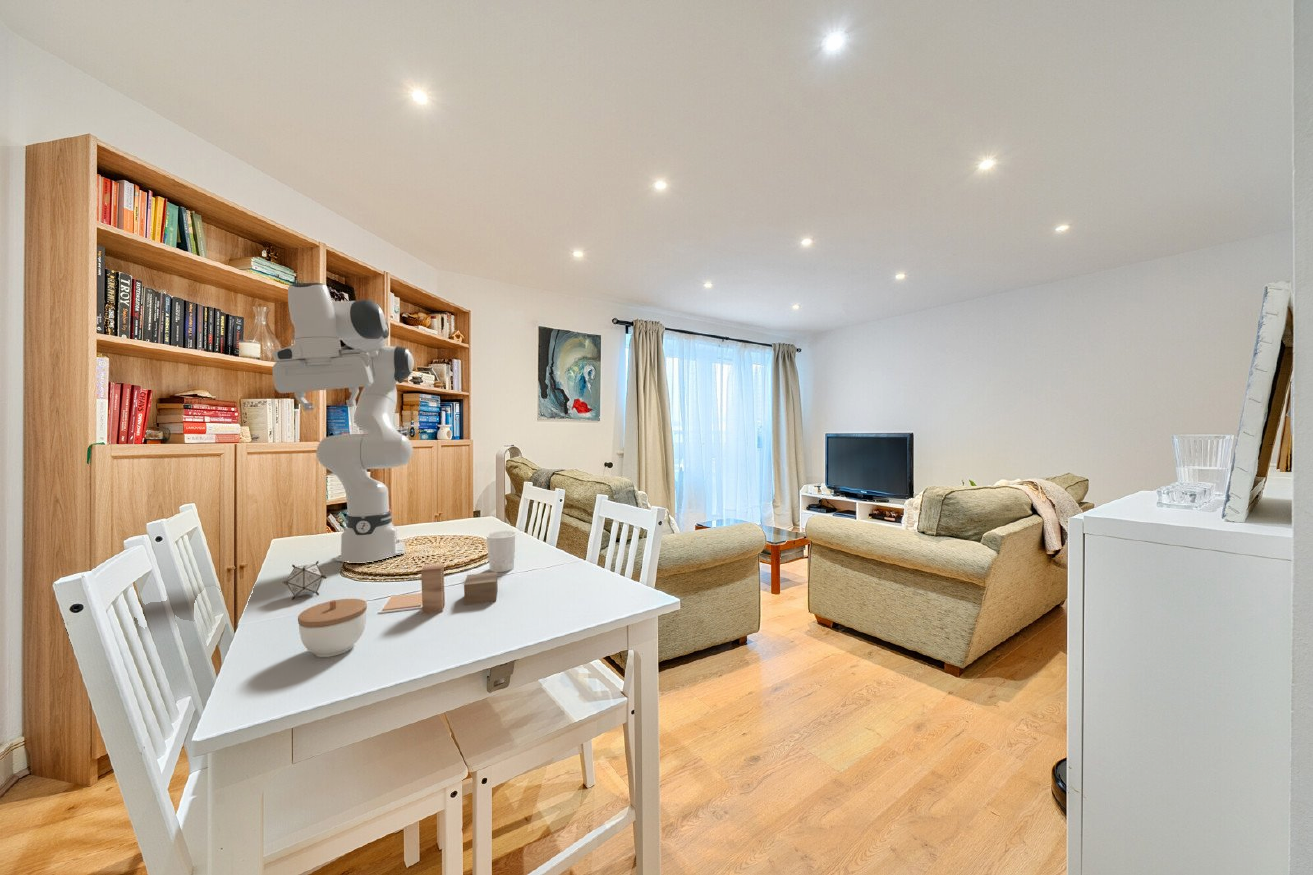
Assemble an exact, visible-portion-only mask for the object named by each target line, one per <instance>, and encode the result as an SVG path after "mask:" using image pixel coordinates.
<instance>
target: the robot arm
mask: <svg viewBox="0 0 1313 875" xmlns="http://www.w3.org/2000/svg"><path fill="white" fill-rule="evenodd" d="M287 288H288V289H287V303H288V305H287V306H288V313H289V318H290V321H291V324H292V326H293V327H294V334H293V335H294V338H293V339H294V343H293V344H291V345H289V346H286V347H283V348H281V349H278V350H275V351H274V352H272V354H271V355H272V359H273V360H274V361H276V362H275V363H274V364H273V366H272V380H273V381H272V382H273V386H274V389H275V390H276V391H277V392H278V393H279V394H288V393H289V394H290V393H294V398H296V400H297V401H298V402H299V403H300V404H301V406H302V410H303V411H304V412H307V411H313V410H314V407H313V406H314V404H313V402H308V401H307V399H306V398H305V397H306V395H307V394H306V392H314V391H325V390H326V391H327V390H328V391H329V390H337V389H338V390H339V389H340V390H342V389H348V391H349V393H351V394H350V397H349V399H346V400H345V402H346V407H347V408H350V407H351V408H353V407H356V408H355V412H354V415H353V419H354V420H353V421H354V424H355V425H356V427H357V428H358V429H360V430H361V431H362V432H364V433H351V434H350V433H346V434H345V433H344V434H337V435H331V436H327V437H324V438H322V439H321V441H319V444H318V446H317V447H316V458H317V460H318V462H319V464H321V466H323V468H325V469H327V470H329V471H330V472H331V473H332V474H334V475H335V476H336V477H337V478H338V480H339V481H340V483H341V485H342V486H343V489H344V492H345V497H346V506H347V515H346V516H345V523H346V524H345V526H346V529H345V530H344V531H343V532H342V533H341V540H340V555H338V556H336V557H335V561H336V562H343V563H344V562H345V561H349V562H367V561H377V560H381V559H384V558H387V557H390V556H395V555H400V554H403V553H404V554H405V548H406V544H405V541H402V540H400V539H399V538H398V532H397V531H398V530H397V528H396V526H394V524H393V522H392V521H393V518H392V509H391V508H390V498H389V488H388V487H387V485H386V484H384V482H382V481H380V480H378V479H374V478H372V477H371V476H370V475H369V473H368V470H374V469H378V470H379V469H391V468H392V469H393V468H397V467H401V466H402V467H403V466H406V465H407V464H408V463H409V462H410V461H411V458H412V457H413V453H414V452H413V451H414V448H413V444H412V442H411V440H410V439H409V437H407V436H406V435H404V434H402V433H401V432H400V431H398V430H397V429H396V427H395V414H396V409H397V404H398V392H397V386H396V383H398V384H403V382H404V381H405V380H406V379H408V378H409V376H410V375H411V374H413V371H414V370H413V369H414V366H415V360H414V356H413V354H412V352H411V351H410V349H409V348H408V347H407V348H406V347H403V346H398V345H397V346H393V345H386V344H387V341H388V338H389V336H390V328H389V323H388V320H387V318H386V316H385V313H384V311H383V309H382V308H381V305H379V304H378V303H377V302H375V301H373V300H372V299H370V298H368V299H358V300H345V301H344V300H343V301H341V300H339V301H333V299H332V296H331V293H330V290H329V288H328V286H327V284H325V283H320V282H298V283H297V282H296V283H292V284H290V285H289V286H288V287H287ZM341 341H342V342H343V344H345V345H344V346H343V347H342V345H341ZM359 388H362V390H361V392H360V389H359ZM359 393H360V395H359ZM358 395H359V398H358V401H357V402H356V399H357V397H358Z"/></svg>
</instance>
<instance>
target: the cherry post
mask: <svg viewBox="0 0 1313 875" xmlns="http://www.w3.org/2000/svg"><path fill="white" fill-rule="evenodd" d="M444 567H445V566H444V562H441V563H428V564H427V563H426V564H424V565H423V566H422V568H421V569H420V574H421V575H420V576H421V580H420V581H421V593H422V615H427V614H428V615H429V614H436V613H442V612H443V610H444V608H445V606H446V602H445V599H446V598H445V596H446V595H445V572H444V570H445V569H444Z"/></svg>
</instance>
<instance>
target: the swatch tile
mask: <svg viewBox="0 0 1313 875" xmlns="http://www.w3.org/2000/svg"><path fill="white" fill-rule="evenodd" d="M420 609H422V592H419V593H411V594H409V593H408V594H402V595H392V596H389V597H388V598H387V599H386V601H385V603H383V605H382V607H381V608H380V609H379V611H378V614H384V613H385V614H386V613H395V612H401V611H402V612H403V611H411V610H412V611H413V610H420Z"/></svg>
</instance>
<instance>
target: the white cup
mask: <svg viewBox="0 0 1313 875" xmlns="http://www.w3.org/2000/svg"><path fill="white" fill-rule="evenodd" d="M486 545H487V546H486V548H487V558H488V562H489V563H488V565H489V571H490V572H491V573H492V572H497V573H503V572H504V573H505V572H509V571H512V570H513V569H514V568H515V559H516V558H515V557H516V554H515V552H516V532H514V531H508V530H504V531H503V530H502V531H501V530H500V531H493V532H492V533H491V532H490V533H489V534H487V535H486Z"/></svg>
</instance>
